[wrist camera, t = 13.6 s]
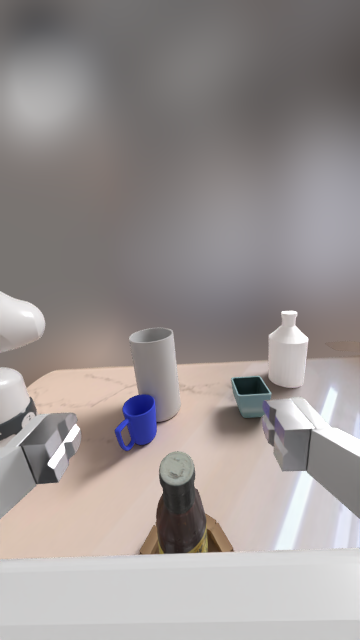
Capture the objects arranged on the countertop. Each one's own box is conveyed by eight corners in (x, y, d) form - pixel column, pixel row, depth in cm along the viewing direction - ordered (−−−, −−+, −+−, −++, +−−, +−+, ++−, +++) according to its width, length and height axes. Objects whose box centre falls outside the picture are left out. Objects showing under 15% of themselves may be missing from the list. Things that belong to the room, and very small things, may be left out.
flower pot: (231, 402, 60) (230, 377, 58) (259, 400, 59) (259, 375, 57) (238, 423, 51) (237, 395, 49) (271, 422, 51) (272, 394, 49)
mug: (110, 455, 46) (102, 422, 43) (142, 420, 56) (137, 391, 53) (136, 470, 42) (129, 434, 39) (165, 429, 52) (161, 398, 50)
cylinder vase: (183, 419, 55) (175, 339, 49) (140, 426, 54) (126, 345, 47) (178, 392, 67) (170, 325, 61) (143, 398, 66) (131, 330, 59)
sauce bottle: (184, 640, 22) (165, 522, 17) (155, 576, 26) (134, 469, 21) (220, 580, 26) (214, 470, 21) (189, 534, 30) (178, 435, 25)
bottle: (269, 367, 77) (271, 308, 71) (303, 373, 71) (309, 308, 65) (265, 383, 67) (267, 316, 61) (305, 391, 61) (312, 317, 55)
